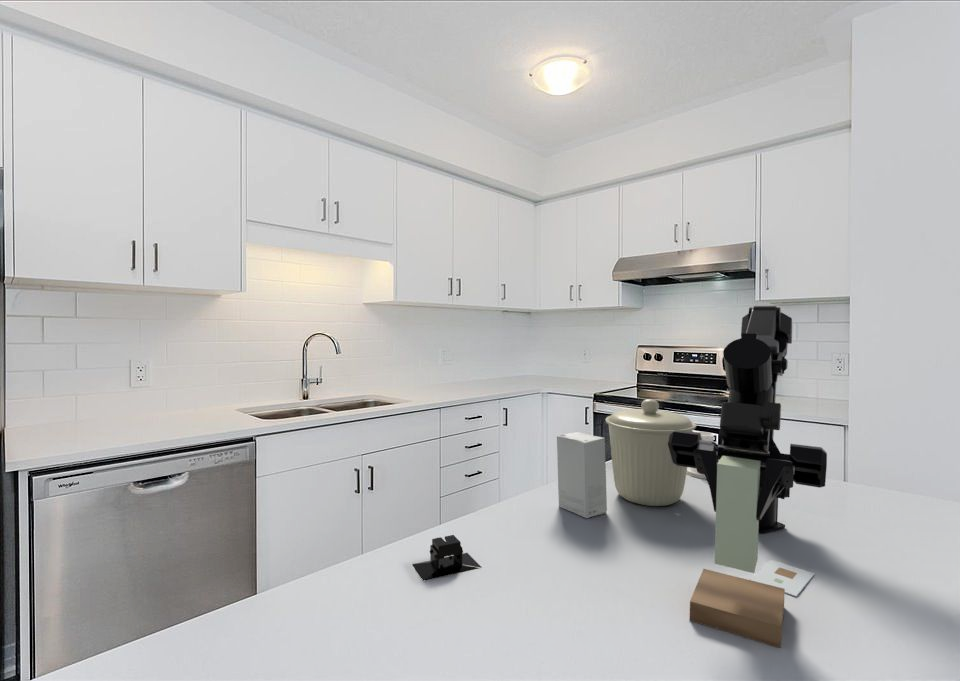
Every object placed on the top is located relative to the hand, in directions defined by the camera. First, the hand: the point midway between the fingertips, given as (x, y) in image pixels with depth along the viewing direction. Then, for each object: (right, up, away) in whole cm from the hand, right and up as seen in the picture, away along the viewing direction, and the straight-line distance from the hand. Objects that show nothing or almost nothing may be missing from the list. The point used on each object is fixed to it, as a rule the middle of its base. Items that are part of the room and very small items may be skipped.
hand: (736, 514), depth 65 cm
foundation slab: (+1, -13, +2) cm, 14 cm away
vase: (+22, -11, +61) cm, 66 cm away
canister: (+3, -12, +44) cm, 46 cm away
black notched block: (-38, -13, +14) cm, 42 cm away
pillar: (+1, -7, +2) cm, 7 cm away
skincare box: (-12, -12, +37) cm, 41 cm away
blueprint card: (+12, -13, +11) cm, 21 cm away
